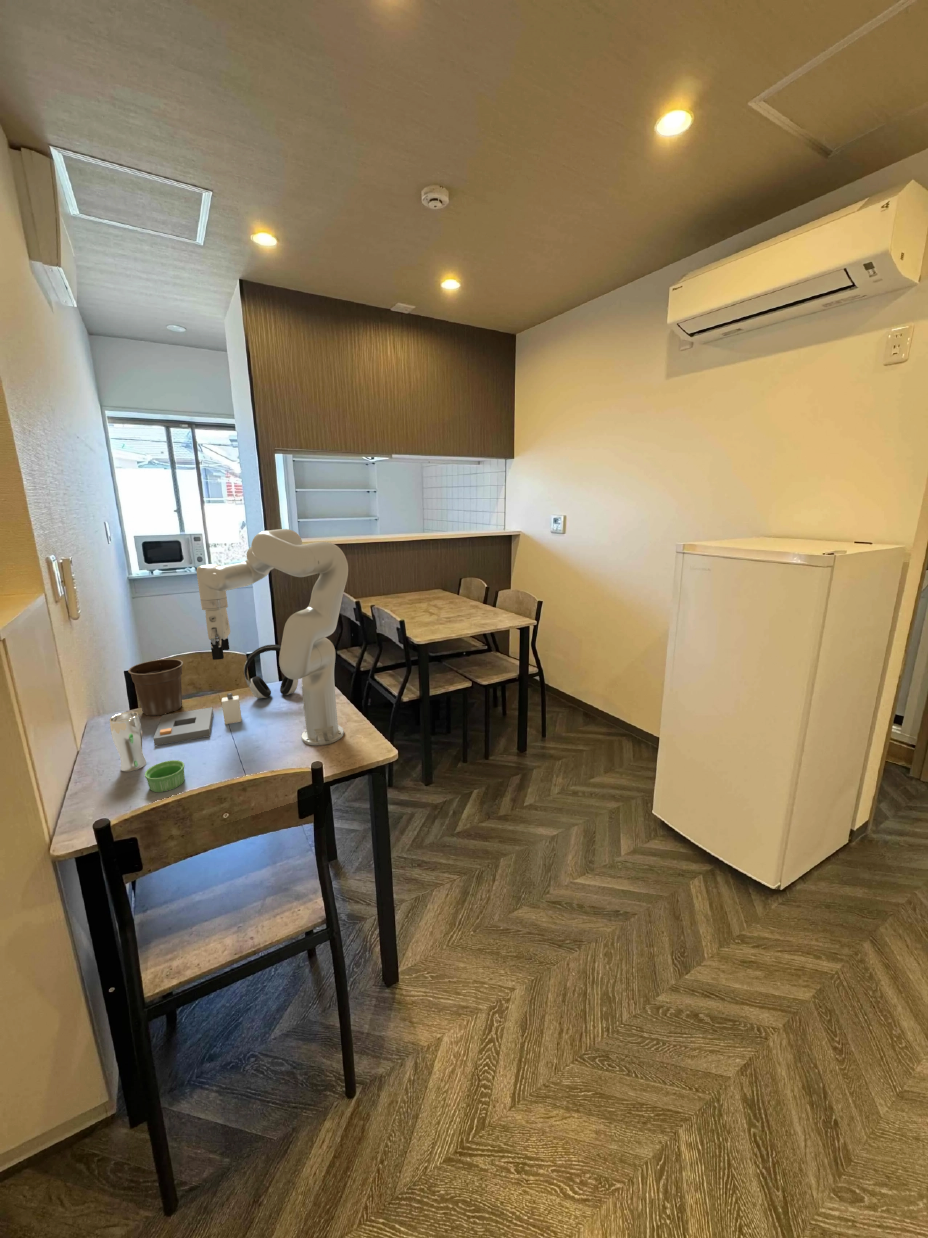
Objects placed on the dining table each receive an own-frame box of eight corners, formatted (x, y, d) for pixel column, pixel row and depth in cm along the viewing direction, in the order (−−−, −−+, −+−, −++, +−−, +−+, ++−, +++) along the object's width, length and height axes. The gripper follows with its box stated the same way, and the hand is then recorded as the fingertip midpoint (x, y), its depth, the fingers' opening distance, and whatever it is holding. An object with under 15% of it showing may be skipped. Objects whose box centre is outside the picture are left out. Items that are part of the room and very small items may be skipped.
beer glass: (126, 775, 135) (116, 724, 131) (113, 768, 139) (103, 718, 135) (153, 763, 141) (144, 714, 137) (140, 757, 144) (131, 709, 141)
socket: (209, 736, 156) (208, 726, 156) (154, 745, 151) (152, 736, 150) (213, 713, 173) (212, 705, 172) (163, 721, 167) (162, 712, 166)
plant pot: (193, 697, 187) (186, 656, 183) (184, 714, 172) (177, 670, 168) (143, 703, 182) (135, 661, 178) (130, 722, 167) (121, 676, 163)
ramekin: (168, 772, 136) (165, 758, 135) (194, 777, 134) (192, 762, 133) (139, 791, 128) (135, 775, 127) (166, 796, 125) (163, 780, 124)
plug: (241, 721, 166) (237, 694, 164) (224, 724, 164) (220, 697, 162) (241, 717, 169) (237, 690, 167) (225, 720, 168) (221, 693, 165)
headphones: (301, 688, 194) (296, 639, 189) (303, 696, 186) (298, 644, 181) (247, 696, 187) (240, 645, 182) (247, 705, 179) (240, 652, 174)
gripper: (221, 608, 152) (229, 661, 156) (231, 597, 168) (238, 646, 173) (194, 610, 150) (202, 664, 155) (207, 598, 166) (214, 647, 171)
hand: (221, 654), depth 164 cm, fingers open, 9 cm apart
